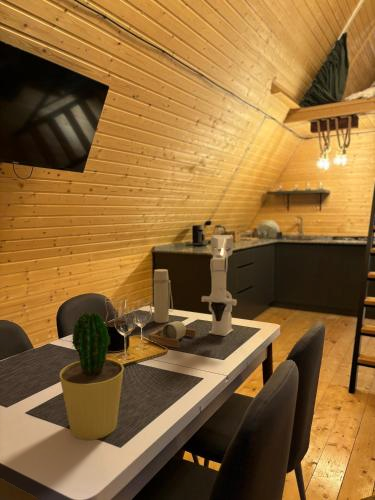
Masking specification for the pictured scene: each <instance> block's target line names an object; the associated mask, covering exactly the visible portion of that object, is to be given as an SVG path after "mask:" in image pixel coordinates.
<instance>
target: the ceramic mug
mask: <svg viewBox="0 0 375 500" xmlns="http://www.w3.org/2000/svg"><path fill="white" fill-rule="evenodd" d="M161 328H162V334H160V336H162V337H167V338H173V339H178V340H180V339H181V338H183V337H184V336H185V333H186V328H187V327H186V325H185V323H184V322H182V321H180V320H179V321H178V320H176V321H172V322H169V323H165V324H164V325H163V326H162V327H161Z"/></svg>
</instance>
